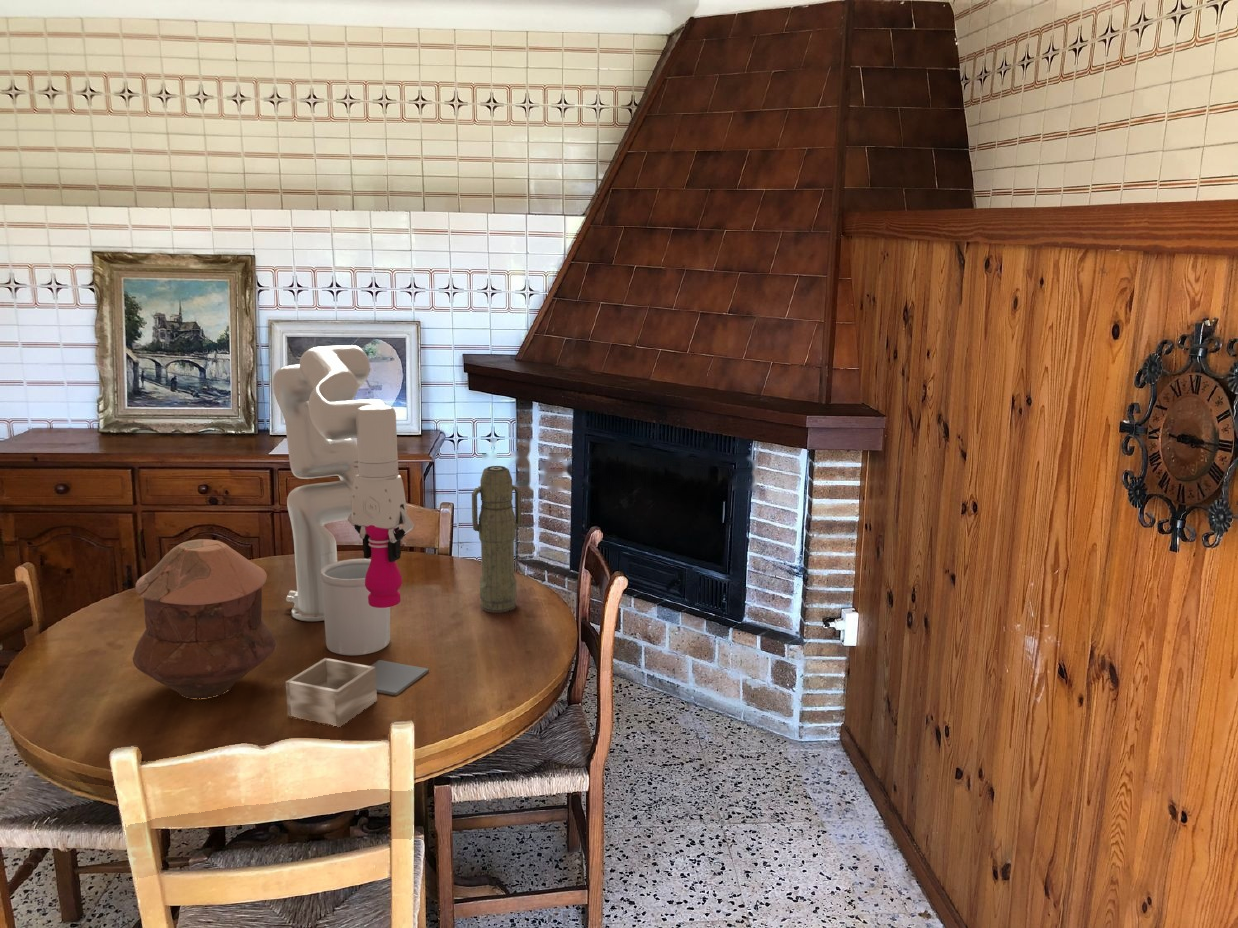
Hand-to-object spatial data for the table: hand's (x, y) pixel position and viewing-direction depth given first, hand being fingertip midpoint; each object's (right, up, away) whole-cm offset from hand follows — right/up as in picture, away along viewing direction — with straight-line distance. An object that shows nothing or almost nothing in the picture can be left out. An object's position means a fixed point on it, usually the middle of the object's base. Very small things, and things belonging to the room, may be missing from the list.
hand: (382, 557), depth 187 cm
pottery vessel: (-34, -26, 0) cm, 43 cm away
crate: (-7, -28, -7) cm, 30 cm away
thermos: (+17, -17, +46) cm, 52 cm away
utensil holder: (-11, -22, +23) cm, 33 cm away
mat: (0, -25, +6) cm, 26 cm away
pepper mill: (0, -9, +2) cm, 10 cm away
